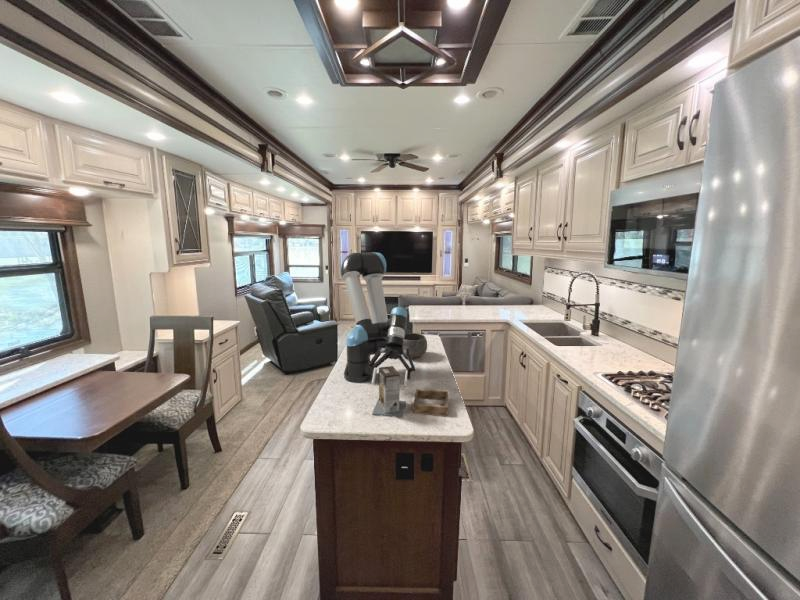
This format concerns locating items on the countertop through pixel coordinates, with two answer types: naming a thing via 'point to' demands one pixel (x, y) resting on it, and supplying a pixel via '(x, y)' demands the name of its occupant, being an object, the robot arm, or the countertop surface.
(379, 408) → the slate mat
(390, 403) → the coffee box
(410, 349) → the bowl
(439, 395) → the walnut frame
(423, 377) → the countertop surface
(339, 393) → the countertop surface
